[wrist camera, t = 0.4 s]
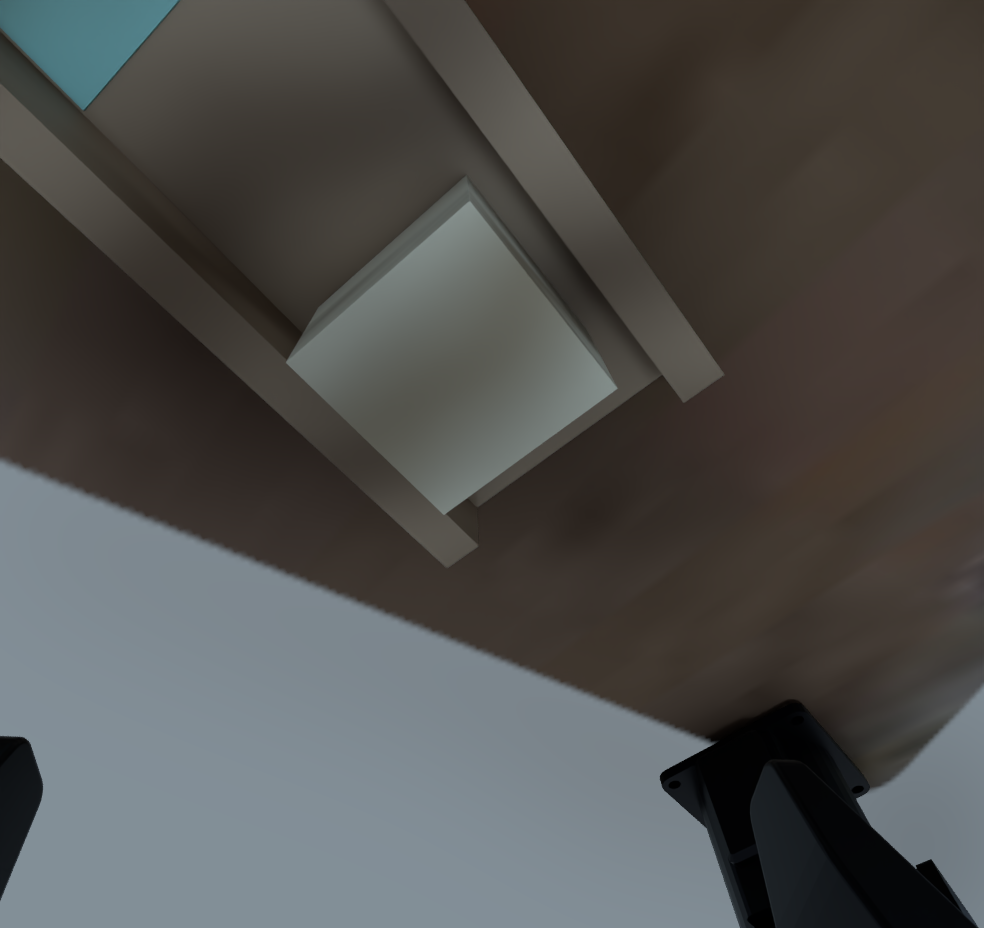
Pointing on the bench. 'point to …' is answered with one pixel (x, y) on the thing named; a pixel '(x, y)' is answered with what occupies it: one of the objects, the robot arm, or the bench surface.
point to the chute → (315, 187)
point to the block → (452, 351)
